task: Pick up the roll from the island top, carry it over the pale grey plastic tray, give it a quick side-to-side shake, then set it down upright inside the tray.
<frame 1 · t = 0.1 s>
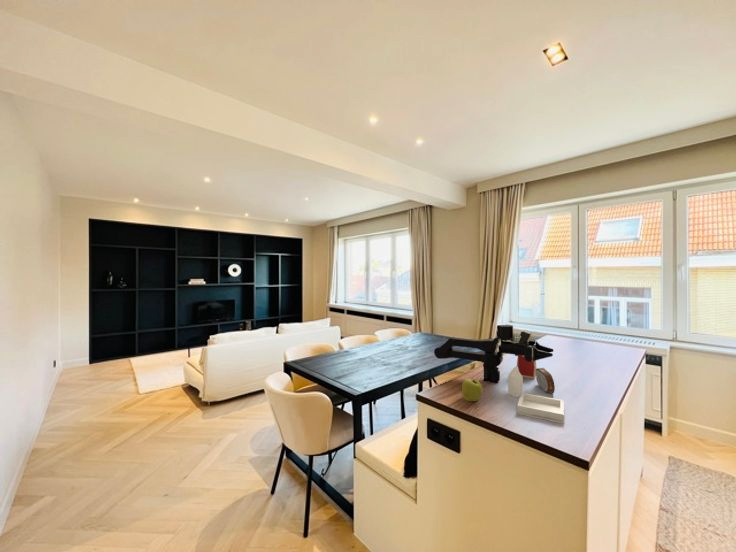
hand: (553, 352, 130), 17 cm above the table, tool horizontal, fingers open, 9 cm apart
tray: (541, 410, 110), on the table
apple: (471, 400, 121), on the table
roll: (515, 394, 127), on the table
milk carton: (525, 375, 151), on the table
tin: (544, 390, 131), on the table
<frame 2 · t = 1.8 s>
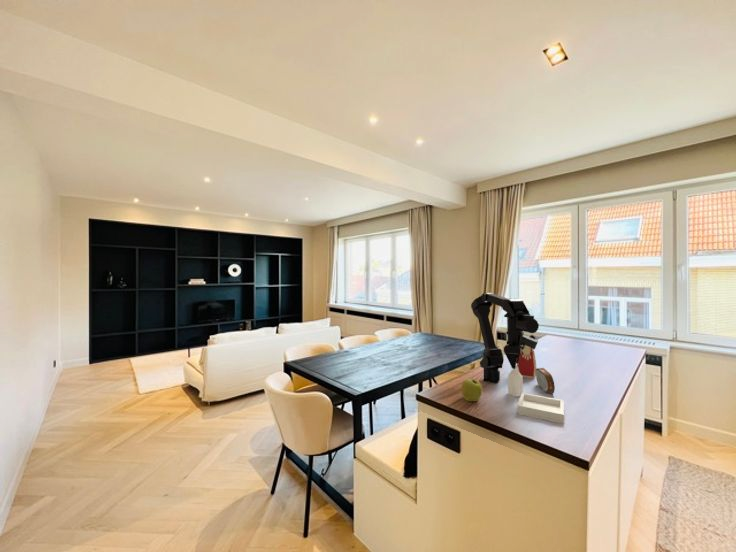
hand: (515, 365, 127), 12 cm above the table, tool pointing down, fingers open, 9 cm apart
nothing on the table moved.
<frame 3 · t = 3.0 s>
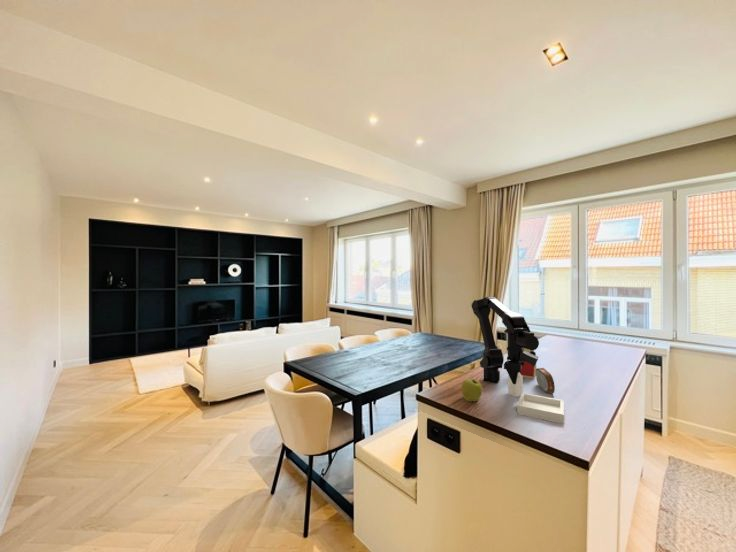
hand: (515, 381, 127), 5 cm above the table, tool pointing down, fingers closed on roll, 6 cm apart
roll: (515, 394, 127), on the table, touching gripper
everything else where it was.
when the fingers open (8 cm above the table, at t = 8.9 s): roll drops 2 cm, resting on tray.
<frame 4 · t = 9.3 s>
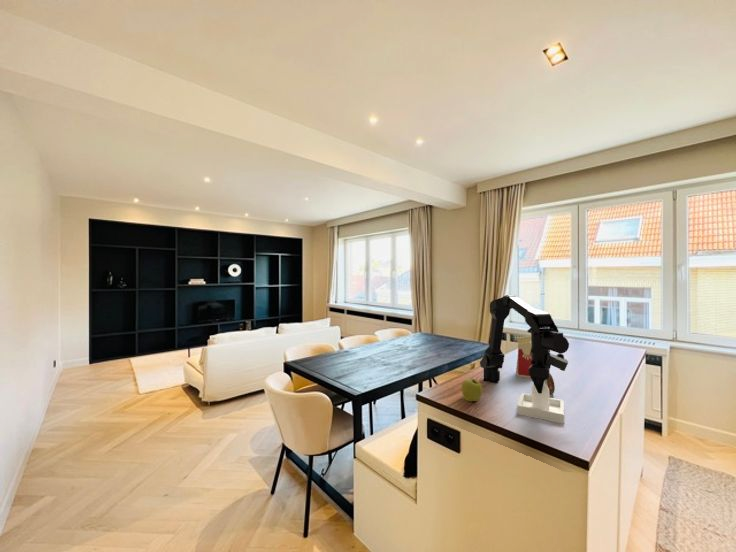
hand: (540, 389, 111), 8 cm above the table, tool pointing down, fingers open, 9 cm apart
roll: (540, 408, 111), point 1 cm above the table, touching tray
everything else where it was.
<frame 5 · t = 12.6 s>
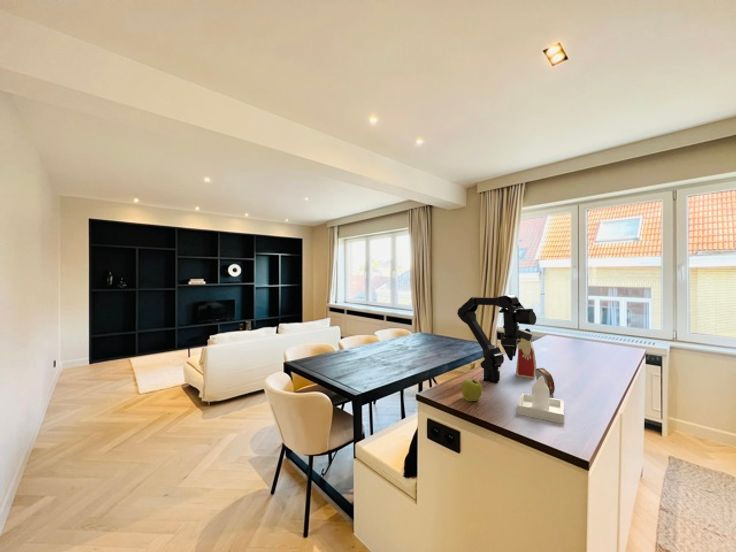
hand: (512, 358, 134), 13 cm above the table, tool pointing down, fingers open, 9 cm apart
nothing on the table moved.
at the end: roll inside the target area on the tray (0.2 cm from its centre), point 0.8 cm above the tray's base; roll tilted 1°; the gripper is holding nothing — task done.
